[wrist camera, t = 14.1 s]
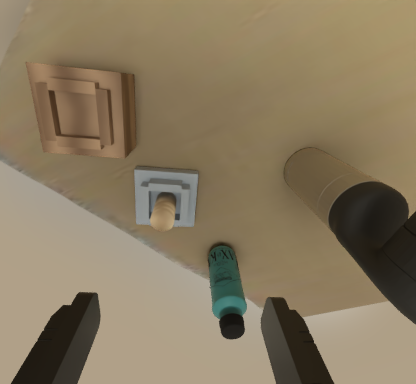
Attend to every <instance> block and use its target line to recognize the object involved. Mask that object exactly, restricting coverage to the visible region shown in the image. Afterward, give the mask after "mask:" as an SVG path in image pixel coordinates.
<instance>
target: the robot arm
mask: <svg viewBox="0 0 416 384" xmlns="http://www.w3.org/2000/svg"><path fill="white" fill-rule="evenodd" d="M284 178H285V181H286V182H287V184H288V185H289V186H290V187H291V188H292V189H293V190H294V192H295V193H296V194H297V195H298V196H299V197H300V198H301V199H302V200H303V201H304V202H305V203H306V204H307V205H308V206H309V208H310V209H311V210H312V211H313V212H314V213H315V214H316V215H317V216H318V217H319V218H320V219H321V220H322V221H323V222H324V223H325V224H326V225H327V227H328V228H329V229H330V230H331V231H332V232H333V233H334V234H335V235H336V237H337V239H338V241H339V242H340V243H341V245H342V246H343V247H344V248H345V249H346V250H347V251H348V252H349V254H350V255H351V256H352V257H353V258H354V260H355V261H356V262H357V263H358V265H359V266H360V267H361V268H362V270H363V271H364V272H365V273H366V275H367V276H368V277H369V278H370V280H371V281H372V282H373V283H374V284H375V286H376V287H377V288H378V289H379V290H380V291H381V293H382V294H383V295H384V296H385V297H386V298H387V299H388V300H389V301H390V302H391V303H392V304H393V305H394V306H395V307H396V308H397V309H398V310H399V311H400V312H401V313H402V314H403V315H404V316H406V317H407V318H408V319H410V320H411V321H412V322H413V323H414V324H416V212H415V213H414V214H413V215H412V216H411V217H410V218H409V219H408V215H409V209H408V204H407V201H406V199H405V198H404V197H403V196H402V195H401V193H399V192H398V191H397V190H395V189H393V188H392V187H390V186H388V185H386V184H384V183H382V182H380V181H378V180H376V179H374V178H372V177H370V176H368V175H366V174H364V173H362V172H361V171H359V170H357V169H355V168H353V167H351V166H349V165H347V164H345V163H343V162H342V161H340V160H338V159H336V158H334V157H332V156H330V155H329V154H327V153H325V152H323V151H321V150H319V149H316V148H305V149H302V150H300V151H298V152H296V153H295V154H294V155H292V156H291V157H290V159H289V160H288V162H287V163H286V166H285V169H284ZM99 324H100V308H99V300H98V294H97V293H88V292H79V293H78V294H77V295H76V297H75V299H74V300H73V302H72V304H71V305H63V306H62V307H61V308H60V309H59V310H58V311H57V312H56V313H55V314H53V315H52V316H51V318H50V320H49V321H48V323H47V325H46V326H45V328H44V331H42V333H41V335H40V336H39V338H38V341H37V342H36V343H35V345H34V347H33V348H32V350H31V351H30V353H29V355H28V356H27V358H26V360H25V361H24V363H23V365H22V366H21V368H20V370H19V371H18V373H17V375H16V376H15V378H14V379H13V381H12V383H11V384H77V383H78V380H79V378H80V375H81V373H82V370H83V367H84V365H85V362H86V360H87V357H88V354H89V352H90V349H91V347H92V344H93V341H94V339H95V336H96V334H97V331H98V328H99ZM261 330H262V334H263V337H264V341H265V345H266V348H267V352H268V355H269V359H270V363H271V366H272V370H273V373H274V376H275V380H276V384H334V382H333V380H332V379H331V376H330V374H329V372H328V370H327V368H326V366H325V364H324V361H323V359H322V357H321V355H320V353H319V351H318V349H317V346H316V344H314V340H313V338H312V336H311V334H310V333H309V330H308V327H307V325H306V323H305V321H304V319H303V318H302V317H301V316H300V315H299V314H298V313H297V311H296V310H289V307H288V305H287V303H286V300H285V299H284V298H281V297H268V298H267V300H266V303H265V306H264V310H263V314H262V317H261Z"/></svg>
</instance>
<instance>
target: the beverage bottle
mask: <svg viewBox="0 0 416 384" xmlns="http://www.w3.org/2000/svg"><path fill="white" fill-rule="evenodd" d="M235 255H236V254H234V252H233V250H232V249H231V248H229V247H227V246H218V247H215V248H214V249H212V250H211V252H210V253H209V255H208V256H209V257H208V262H209V268H208V269H209V272H210V277H209V278H210V286H211V287H210V288H211V295H212V311H213V314H214V315H215V316H216V317H217V318H218V319H220V321H219V324H220V328H221V333H222V335H223V337H225V338H227V339H237V338H239V337H241V336H242V335H243V334H244V331H245V328H244V320H243V317H242V315H243V314H244V313H245V312H246V309H247V304H246V302H245V297H244V293H243V288H242V284H241V279H240V277H241V276H240V274H239V269H238V268H239V267H238V263H237V259H236V257H235Z"/></svg>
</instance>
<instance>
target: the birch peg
mask: <svg viewBox="0 0 416 384" xmlns="http://www.w3.org/2000/svg"><path fill="white" fill-rule="evenodd" d="M176 203H177V199H176V196H175V195H174V194H173V193H172V192H161V193H160V194H159V195H158V196H157V199H156V202H155V205H154V209H153V212H152V215H151V218H150V223H151V226H152V227H153V228H154V229H156V230H158V231H167V230H169V229H171V228H172V227H173V225H174V219H175V211H176Z"/></svg>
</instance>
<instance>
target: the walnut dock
mask: <svg viewBox="0 0 416 384" xmlns="http://www.w3.org/2000/svg"><path fill="white" fill-rule="evenodd" d="M26 66H27V71H28V76H29V81H30V86H31V91H32V96H33V101H34V106H35V111H36V116H37V121H38V126H39V132H40V137H41V142H42V147H43V152H49V153H62V154H75V155H87V156H100V157H113V158H126V157H127V156H128V155H129V153H130V152H131V151H132V150H133V149H134V148H135V147H136V122H135V87H134V75H133V74H126V73H118V72H109V71H100V70H92V69H83V68H74V67H65V66H56V65H47V64H38V63H29V62H26Z"/></svg>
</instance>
